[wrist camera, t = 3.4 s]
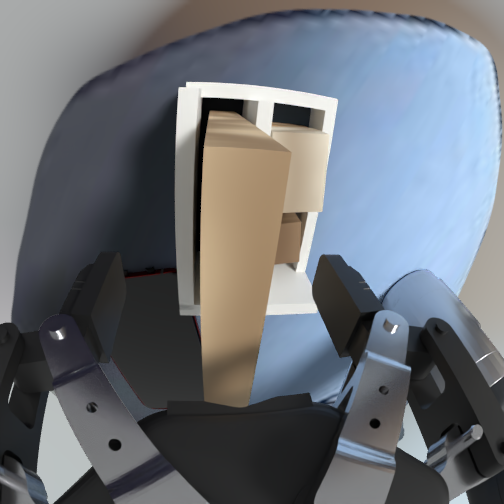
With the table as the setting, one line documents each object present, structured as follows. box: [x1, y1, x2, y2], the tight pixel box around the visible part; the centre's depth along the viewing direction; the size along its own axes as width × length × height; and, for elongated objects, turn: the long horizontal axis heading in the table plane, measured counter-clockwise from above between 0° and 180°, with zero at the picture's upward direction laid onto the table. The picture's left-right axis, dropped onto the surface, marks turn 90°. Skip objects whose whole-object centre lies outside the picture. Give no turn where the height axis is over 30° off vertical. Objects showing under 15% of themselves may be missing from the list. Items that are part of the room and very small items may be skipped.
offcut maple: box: [270, 126, 329, 213], centre depth 18 cm, size 3×5×3 cm
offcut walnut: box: [274, 212, 301, 265], centre depth 23 cm, size 3×3×4 cm
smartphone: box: [111, 268, 204, 409], centre depth 31 cm, size 12×2×25 cm
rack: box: [175, 82, 338, 316], centre depth 19 cm, size 10×15×7 cm, turn 174°
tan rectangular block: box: [200, 110, 292, 407], centre depth 15 cm, size 2×11×16 cm, turn 174°
